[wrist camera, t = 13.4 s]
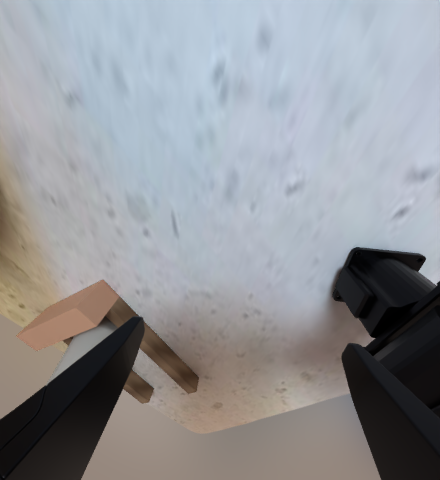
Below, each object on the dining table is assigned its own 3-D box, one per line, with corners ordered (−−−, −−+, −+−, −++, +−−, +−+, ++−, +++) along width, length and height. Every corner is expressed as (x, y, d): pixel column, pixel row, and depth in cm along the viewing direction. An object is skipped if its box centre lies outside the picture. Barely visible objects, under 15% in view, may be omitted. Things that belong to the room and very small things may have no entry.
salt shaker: (99, 339, 30) (10, 466, 18) (82, 311, 27) (-35, 438, 16) (135, 338, 29) (65, 471, 17) (120, 309, 26) (27, 442, 15)
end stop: (119, 296, 25) (96, 326, 21) (65, 321, 29) (36, 351, 25) (102, 279, 24) (75, 307, 20) (48, 307, 28) (15, 335, 24)
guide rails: (198, 377, 32) (196, 391, 30) (147, 390, 35) (142, 403, 33) (119, 296, 25) (110, 308, 24) (65, 321, 29) (53, 333, 27)
